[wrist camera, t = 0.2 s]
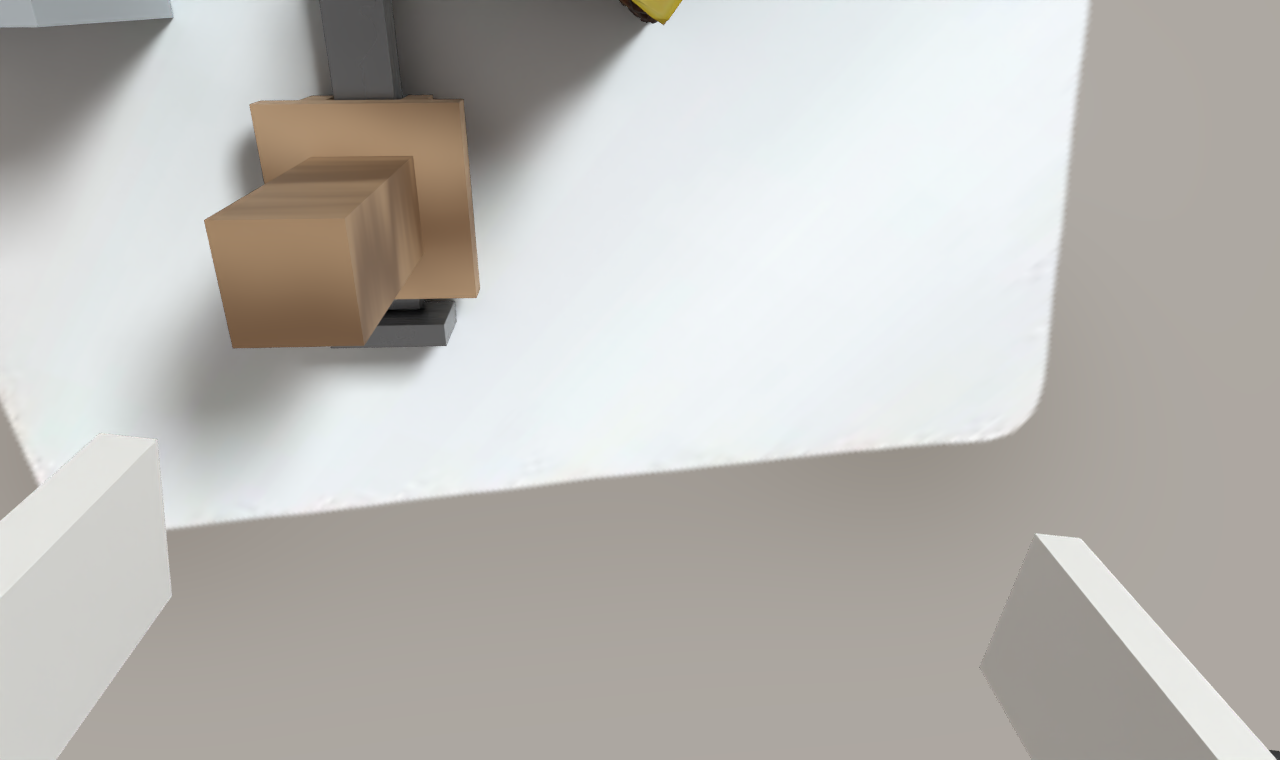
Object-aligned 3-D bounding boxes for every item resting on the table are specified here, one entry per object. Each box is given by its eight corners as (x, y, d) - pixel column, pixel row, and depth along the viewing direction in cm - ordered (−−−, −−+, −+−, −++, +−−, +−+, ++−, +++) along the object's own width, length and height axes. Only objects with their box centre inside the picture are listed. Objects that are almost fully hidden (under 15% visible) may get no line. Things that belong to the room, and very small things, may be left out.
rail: (249, -300, 30) (215, -328, 27) (393, -298, 30) (373, -327, 27) (349, 323, 39) (330, 348, 37) (456, 321, 40) (446, 345, 37)
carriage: (274, 95, 35) (114, 150, 23) (468, 94, 35) (406, 146, 24) (307, 280, 38) (181, 407, 27) (484, 277, 39) (436, 401, 27)
